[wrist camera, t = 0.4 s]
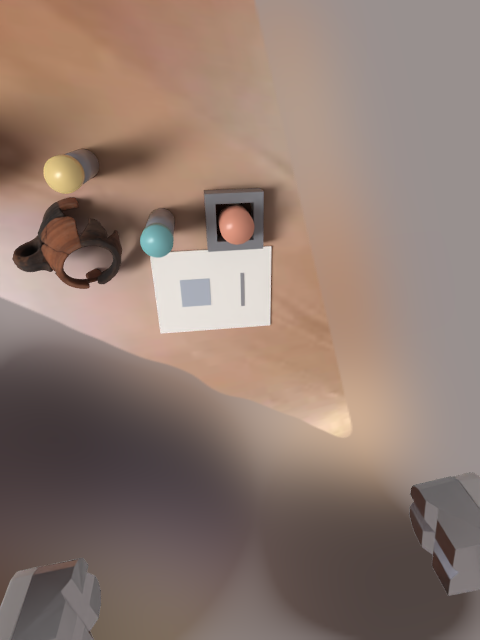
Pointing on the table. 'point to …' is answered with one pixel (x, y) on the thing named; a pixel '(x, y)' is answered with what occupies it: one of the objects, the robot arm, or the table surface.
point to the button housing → (227, 197)
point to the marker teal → (158, 233)
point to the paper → (212, 289)
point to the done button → (235, 224)
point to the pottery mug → (66, 246)
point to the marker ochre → (70, 170)
